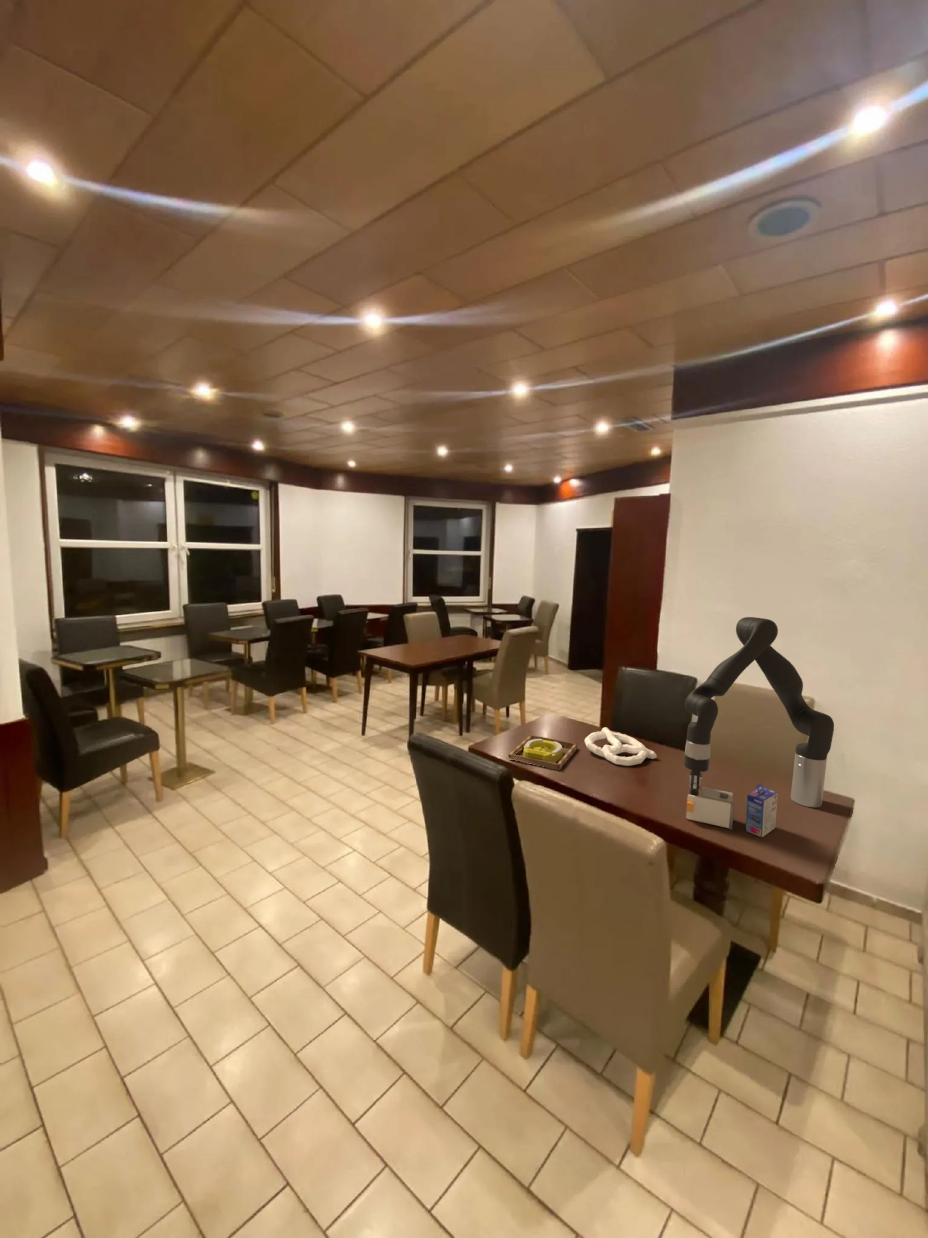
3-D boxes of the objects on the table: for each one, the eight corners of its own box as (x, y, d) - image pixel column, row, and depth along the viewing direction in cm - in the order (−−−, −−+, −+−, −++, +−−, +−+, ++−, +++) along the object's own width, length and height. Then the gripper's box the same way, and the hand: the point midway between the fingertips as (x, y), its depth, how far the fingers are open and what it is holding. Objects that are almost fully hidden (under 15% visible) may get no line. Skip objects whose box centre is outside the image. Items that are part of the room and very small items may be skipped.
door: (686, 817, 168) (687, 793, 167) (732, 828, 162) (734, 803, 161) (685, 820, 166) (687, 796, 165) (732, 831, 160) (734, 806, 159)
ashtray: (515, 761, 213) (516, 750, 213) (531, 745, 232) (531, 734, 231) (554, 769, 206) (554, 757, 206) (566, 751, 225) (567, 741, 224)
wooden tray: (530, 739, 238) (530, 734, 237) (577, 748, 228) (577, 743, 227) (508, 760, 214) (508, 754, 213) (559, 770, 204) (559, 764, 203)
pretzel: (660, 760, 220) (662, 747, 218) (627, 776, 205) (630, 762, 204) (606, 734, 241) (608, 721, 239) (574, 746, 226) (575, 733, 225)
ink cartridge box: (757, 821, 167) (761, 779, 165) (775, 828, 163) (780, 785, 161) (743, 830, 161) (747, 787, 160) (762, 838, 157) (766, 793, 155)
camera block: (700, 812, 173) (702, 784, 171) (730, 818, 168) (732, 790, 167) (699, 821, 166) (701, 793, 165) (730, 828, 162) (732, 799, 161)
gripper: (685, 745, 176) (682, 793, 178) (684, 759, 164) (680, 809, 167) (709, 749, 173) (705, 797, 175) (709, 763, 161) (705, 815, 163)
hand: (693, 803), depth 171 cm, fingers closed
